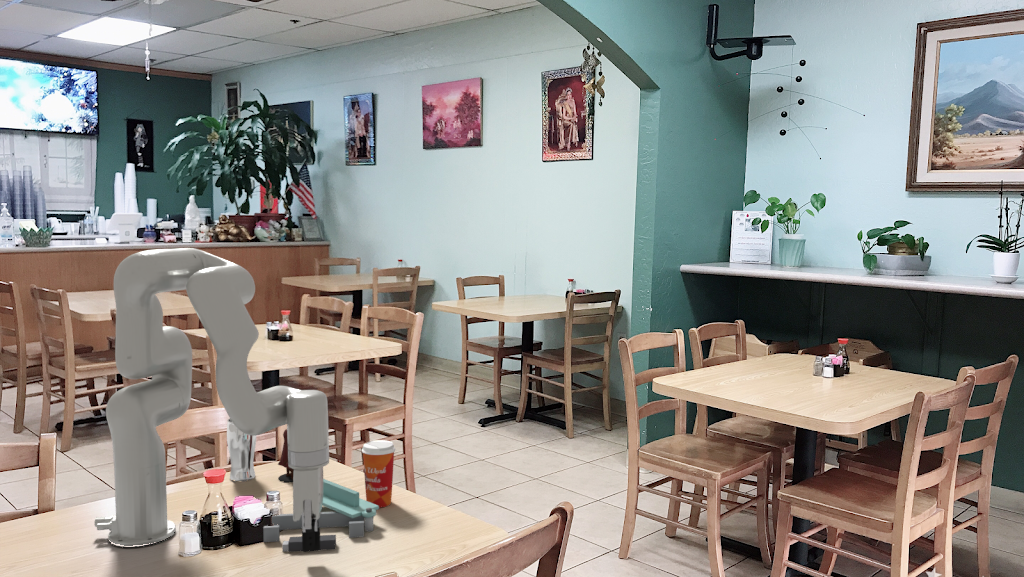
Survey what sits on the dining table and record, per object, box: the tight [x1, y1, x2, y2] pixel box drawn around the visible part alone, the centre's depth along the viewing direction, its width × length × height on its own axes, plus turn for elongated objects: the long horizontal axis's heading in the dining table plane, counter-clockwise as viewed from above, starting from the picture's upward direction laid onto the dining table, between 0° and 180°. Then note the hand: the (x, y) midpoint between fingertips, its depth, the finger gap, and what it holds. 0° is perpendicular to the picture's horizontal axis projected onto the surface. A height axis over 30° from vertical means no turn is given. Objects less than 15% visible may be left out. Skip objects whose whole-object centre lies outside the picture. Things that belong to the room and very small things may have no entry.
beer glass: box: [226, 418, 257, 482], centre depth 197 cm, size 7×7×15 cm
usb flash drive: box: [281, 534, 337, 553], centre depth 157 cm, size 10×3×2 cm, turn 99°
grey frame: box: [262, 511, 374, 543], centre depth 165 cm, size 22×7×3 cm, turn 99°
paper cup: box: [361, 439, 397, 509], centre depth 181 cm, size 8×8×14 cm
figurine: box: [277, 428, 294, 483], centre depth 197 cm, size 7×7×15 cm
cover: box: [322, 478, 380, 518], centre depth 172 cm, size 22×7×4 cm, turn 49°
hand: (311, 549), depth 150 cm, fingers closed
